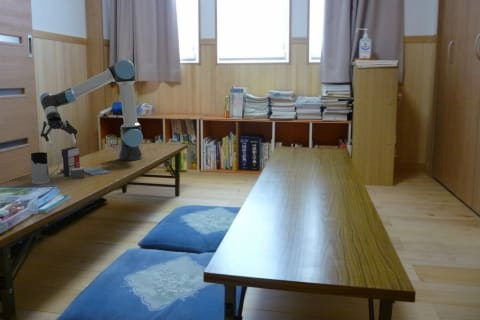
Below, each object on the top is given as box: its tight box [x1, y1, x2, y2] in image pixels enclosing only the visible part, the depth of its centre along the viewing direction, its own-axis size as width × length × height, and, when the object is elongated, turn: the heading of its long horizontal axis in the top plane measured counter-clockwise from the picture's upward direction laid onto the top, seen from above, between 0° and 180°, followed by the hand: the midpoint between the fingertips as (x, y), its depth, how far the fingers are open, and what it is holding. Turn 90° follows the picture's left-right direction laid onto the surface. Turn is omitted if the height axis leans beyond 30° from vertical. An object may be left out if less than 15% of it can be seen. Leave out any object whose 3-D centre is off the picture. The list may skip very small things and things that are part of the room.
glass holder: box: [30, 151, 61, 185], centre depth 226 cm, size 9×14×15 cm, turn 111°
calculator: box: [60, 146, 81, 178], centre depth 244 cm, size 11×4×15 cm, turn 168°
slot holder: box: [59, 166, 85, 179], centre depth 245 cm, size 6×20×5 cm, turn 41°
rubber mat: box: [84, 167, 112, 176], centre depth 254 cm, size 11×16×1 cm
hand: (63, 144), depth 249 cm, fingers open, 13 cm apart
